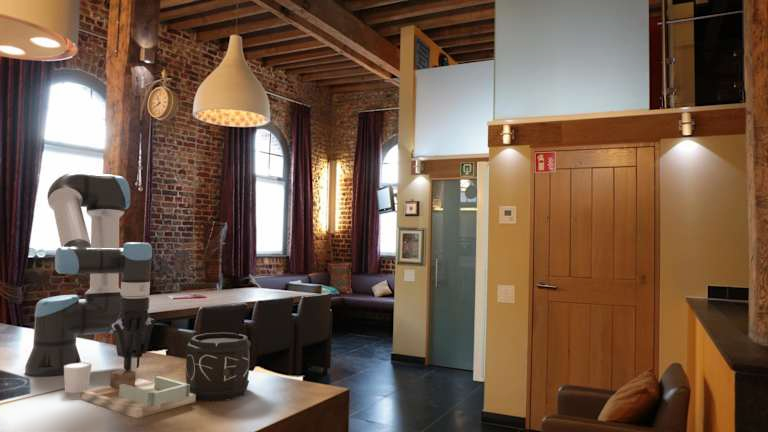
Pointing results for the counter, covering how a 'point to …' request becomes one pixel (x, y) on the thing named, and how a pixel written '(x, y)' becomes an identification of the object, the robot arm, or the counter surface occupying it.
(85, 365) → the shot glass
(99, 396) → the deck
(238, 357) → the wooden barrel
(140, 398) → the cubby
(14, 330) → the counter surface
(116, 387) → the block
